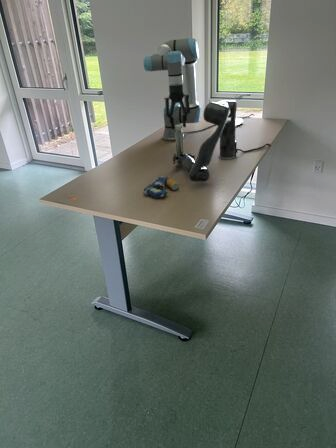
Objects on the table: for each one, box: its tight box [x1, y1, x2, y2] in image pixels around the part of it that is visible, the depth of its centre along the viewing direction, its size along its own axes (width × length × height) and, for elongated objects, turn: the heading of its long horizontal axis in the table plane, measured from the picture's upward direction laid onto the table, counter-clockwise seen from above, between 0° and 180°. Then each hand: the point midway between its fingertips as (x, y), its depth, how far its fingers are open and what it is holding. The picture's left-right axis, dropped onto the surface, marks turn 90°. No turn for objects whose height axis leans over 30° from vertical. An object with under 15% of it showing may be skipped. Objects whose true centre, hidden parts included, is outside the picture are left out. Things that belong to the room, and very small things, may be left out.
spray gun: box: [143, 175, 180, 199], centre depth 172 cm, size 21×4×15 cm
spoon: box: [236, 117, 244, 127], centre depth 260 cm, size 35×11×2 cm, turn 159°
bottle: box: [175, 129, 185, 168], centre depth 194 cm, size 4×4×24 cm
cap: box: [175, 124, 183, 130], centre depth 188 cm, size 4×4×2 cm
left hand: (178, 127), depth 189 cm, fingers open, 6 cm apart
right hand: (178, 154), depth 199 cm, fingers closed on bottle, 4 cm apart
